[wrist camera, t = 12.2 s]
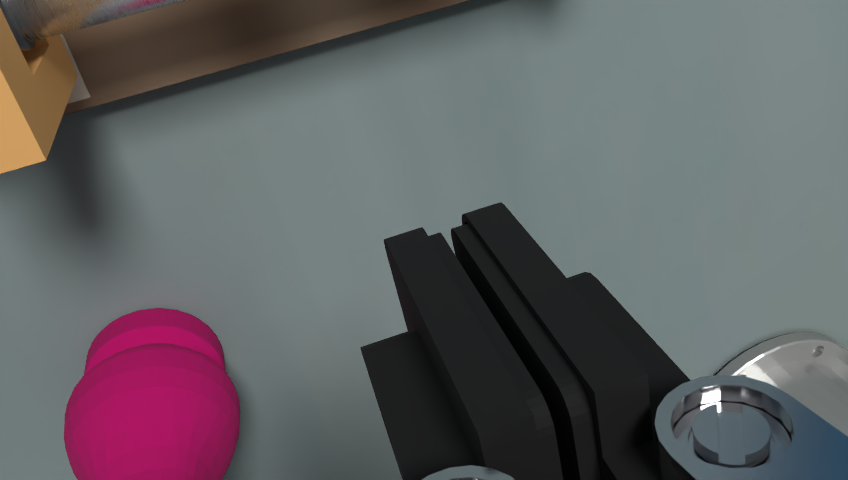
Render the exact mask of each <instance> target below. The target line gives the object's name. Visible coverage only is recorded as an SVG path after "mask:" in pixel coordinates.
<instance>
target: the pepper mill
mask: <svg viewBox="0 0 848 480" xmlns="http://www.w3.org/2000/svg"><path fill="white" fill-rule="evenodd" d="M239 424H240V405H239V398H238V395H237V392H236V389H235V387H234V385H233V383H232V381H231V379H230V377H229V376H228V375H227V374H226V372H225V365H224V355H223V350H222V347H221V344H220V342H219V340H218V338H217V336H216V335H215V333H214V332H213V331H212V330H211V329H210V328H209V326H207V325H206V324H205V323H203V322H202V321H201V320H199V319H198V318H196V317H194V316H192V315H190V314H187V313H184V312H181V311H178V310H171V309H163V308H155V309H147V310H140V311H136V312H133V313H130V314H127V315H125V316H122V317H120V318H118V319H116V320H115V321H113V322H112V323H110V324H109V325H108V326H106V327H105V328H104V329H103V330H102V331H101V332H100V333H99V334H98V335H97V336H96V338H95V339H94V341H93V342H92V345H91V347H90V349H89V352H88V355H87V360H86V366H85V372H84V376H83V377H82V379H81V380H80V381H79V383H78V384H77V385H76V387H75V388H74V390H73V392H72V395H71V397H70V399H69V401H68V404H67V408H66V413H65V427H64V441H65V448H66V452H67V455H68V458H69V462H70V465H71V467H72V470H73V473H74V475H75V476H76V478H77V479H78V480H222V478H223V476H224V474H225V472H226V470H227V468H228V467H229V465H230V462H231V459H232V457H233V454H234V450H235V447H236V443H237V440H238V436H239Z"/></svg>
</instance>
